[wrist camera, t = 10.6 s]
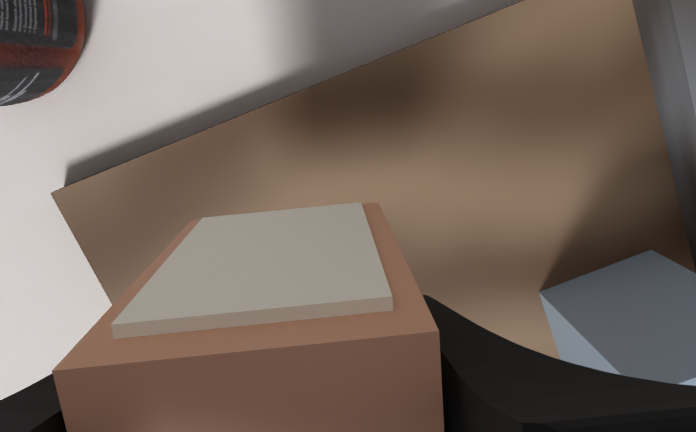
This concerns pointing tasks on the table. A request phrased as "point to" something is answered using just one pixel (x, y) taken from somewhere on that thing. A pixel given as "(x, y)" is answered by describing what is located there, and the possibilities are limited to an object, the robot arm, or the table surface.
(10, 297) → the table surface
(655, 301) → the slate carton
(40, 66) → the supplement bottle
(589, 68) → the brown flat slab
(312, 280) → the peach carton
